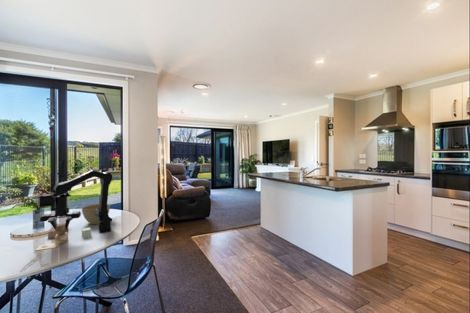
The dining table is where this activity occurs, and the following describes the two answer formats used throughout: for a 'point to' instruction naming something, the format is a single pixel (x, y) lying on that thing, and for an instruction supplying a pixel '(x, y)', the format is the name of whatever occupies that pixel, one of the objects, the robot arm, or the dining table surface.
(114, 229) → the dining table surface
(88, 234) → the block
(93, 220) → the tan bowl
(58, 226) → the walnut block
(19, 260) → the dining table surface
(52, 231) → the brown rock
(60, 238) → the oak block
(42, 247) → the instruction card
